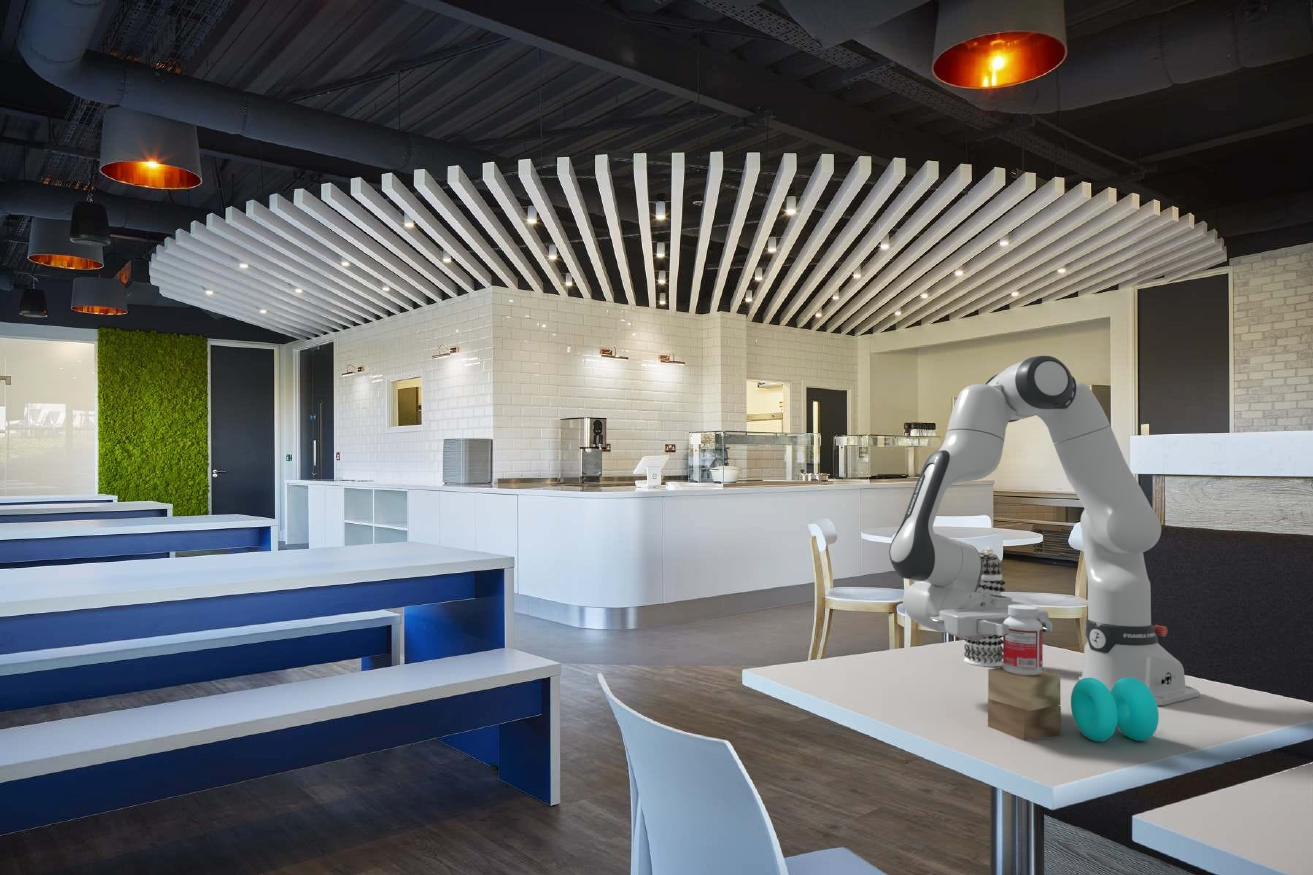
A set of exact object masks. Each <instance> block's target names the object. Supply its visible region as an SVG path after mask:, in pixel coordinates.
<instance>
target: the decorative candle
mask: <svg viewBox="0 0 1313 875" xmlns="http://www.w3.org/2000/svg"><path fill="white" fill-rule="evenodd" d="M979 554H980V556H981V559H982V566H983V569H982V577H981V581H980V584H979V587H978V589H977V591H976V592H979V593H984V594H987V595H994V596H1003V595H1002V594H1001V593H1003V592H1005V591H1006V589H1005V587H1003V586H1004V585H1005V584H1006V582H1005V581H1004V580H1003V574H1002V562H1003V561H1002V559H1000V558H999V556H998V555H997V554H995V553H992V552H991V553H990V552H979ZM1002 638H1003V636H999V635H992V636H989V637H985V638H984V639H982V640H979V641H972V640H968V639H964V638H963V640H964V641H965V643H964V645H963V649H964V650H965V651H963V655H964V657H965V658H964V659H963V661H964V662H965V663H966V664H969V665H972V666H979V667H986V666H987V667H988V668H990V667H991V668H993V667H994V666H997V667H1001V666H1002V667H1003V639H1002ZM987 667H986V668H987Z"/></svg>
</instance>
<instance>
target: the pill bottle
mask: <svg viewBox="0 0 1313 875" xmlns="http://www.w3.org/2000/svg"><path fill="white" fill-rule="evenodd" d="M1029 605H1030V604H1028V605H1009V606H1008V614H1009V615H1010V616H1009V618H1007V619H1005V621H1004V623H1003V624H1006V625H1008V626H1009V630H1008V631H1009V635H1005V636H1003V637H1002V638H1003V639H1002V640H1003V644H1002V647H1003V653H1002V654H1003V659H1002V662H1003V665H1002V667H1003V668H1004V670H1005V671H1007V672H1009V673H1012V674H1017V675H1024V676H1035V675H1040V674H1041V673H1042V671H1043V669H1044V668H1043V665H1044V664H1043V661H1044V660H1043V657H1044V656H1043V653H1044V652H1043V646H1044V645H1043V642H1044V641H1043V636H1044V635H1043V633H1044V632H1043V628H1042V624H1041V623H1040V622H1039V621H1038V620H1036V617H1037V616H1038V608H1039V607H1038V608H1037V606H1035V607H1034V605H1032V606H1029Z"/></svg>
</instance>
